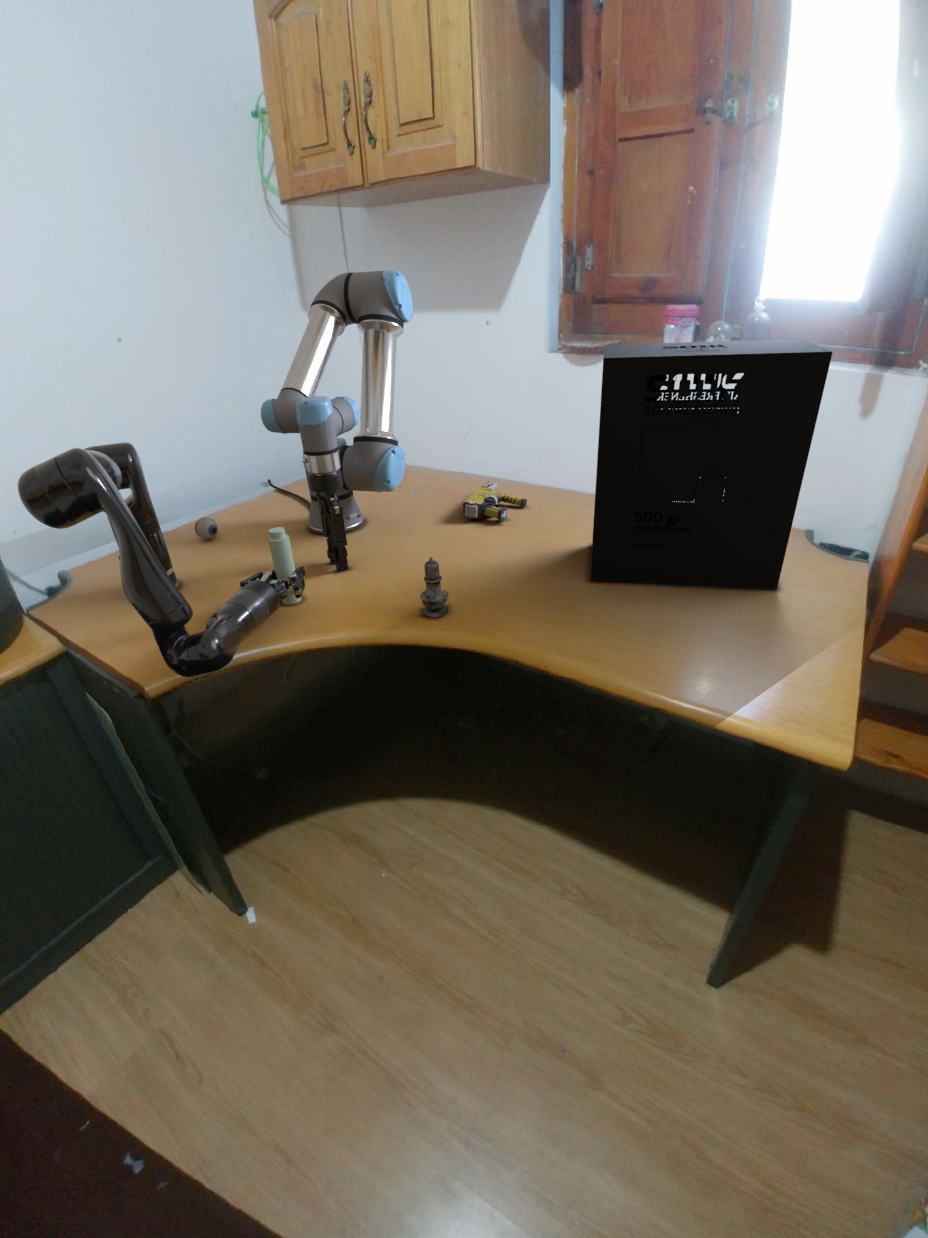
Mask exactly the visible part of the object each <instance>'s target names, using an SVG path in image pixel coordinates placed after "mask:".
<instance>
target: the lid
mask: <svg viewBox="0 0 928 1238" xmlns="http://www.w3.org/2000/svg"><path fill="white" fill-rule="evenodd" d="M345 549H346V556H347V557H348V550H347V547H346V546H345ZM326 556H327V558H328V560H329V561H330V560H335V558H334V552H333V548H331V547H330V548H329V549H328V548H327V549H326Z"/></svg>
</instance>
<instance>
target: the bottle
mask: <svg viewBox="0 0 928 1238" xmlns="http://www.w3.org/2000/svg"><path fill="white" fill-rule="evenodd" d="M268 535H269V536H268V537H267V543H268V547H269V551H270V555H271V560H272V564H273V569H275V573H276V577H277V579H279V578H280V577H282V576H284V575H285V576H288V575H290V574H292V572H294V571H295V570H296V569H297V568H296V565H295V561H294V555H293V551H292V546H291V542H290V536H289V534H288V533H286V529H285V528H284V527H283V526H276V527H272V528H270V529H269V530H268ZM291 583H292V579H291ZM301 601H302V597H300V598H296V597H295V595H288V596H287V597H286V598H285V599H282V600H281V602H282V604H283V605H287V606H290V605H296V604H298V603H300V602H301Z"/></svg>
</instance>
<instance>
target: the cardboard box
mask: <svg viewBox="0 0 928 1238" xmlns="http://www.w3.org/2000/svg"><path fill="white" fill-rule="evenodd" d="M833 353H834V352H833V350H830V349H827V348H826V347H825V348H824V347H822V346H821V345H818V344H815V343H813V342H810V341H808V340H805V339H802V338H783V339H782V338H781V339H779V338H777V339H776V338H775V339H749V340H747V339H746V340H723V341H722V340H720V341H719V340H718V341H689V342H687V341H685V342H683V341H682V342H657V343H654V342H653V343H627V344H625V343H624V344H623V343H621V344H604V345H603V359H602V362H603V363H602V375H601V389H600V390H601V392H600V409H599V424H598V425H599V426H598V427H599V428H598V442H597V457H596V458H597V459H596V460H597V461H596V475H595V493H594V496H595V497H594V508H593V509H594V510H593V525H592V527H593V528H592V541H591V557H590V558H591V560H590V575H589V576H590V577H589V580H590V582H603V583H622V584H623V583H625V584H626V583H628V584H645V585H647V584H648V585H669V586H670V585H671V586H693V587H712V588H714V587H715V588H734V589H735V588H737V589H755V590H757V589H758V590H759V589H760V590H778V586H779V582H780V577H781V574H782V570H783V565H784V561H785V556H786V553H787V548H788V543H789V539H790V536H791V531H792V526H793V522H794V519H795V513H796V510H797V505H798V501H799V497H800V493H801V489H802V484H803V480H804V476H805V471H806V467H807V464H808V463H807V462H808V458H809V455H810V450H811V446H812V442H813V437H814V434H815V430H816V425H817V421H818V417H819V411H820V407H821V404H822V400H823V399H822V398H823V394H824V390H825V386H826V381H827V378H828V374H829V369H830V366H831V360H832V356H833ZM738 374H742V376H741V377H740V378H735V376H736V375H738ZM678 375H681V379H680V380H679V384H678V388H675V385H676V379H675V377H676V376H678ZM689 375H693V380H692V381H691V379H688V376H689ZM702 375H704V379H702ZM719 378H720V382H719ZM724 378H725V382H724ZM723 382H724V385H730V384H731V385H734V388H725V387H724V386H723ZM691 383H692V385H695V388H691ZM705 385H710V388H704V386H705ZM662 387H666V389H662Z"/></svg>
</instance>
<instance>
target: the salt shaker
mask: <svg viewBox="0 0 928 1238" xmlns="http://www.w3.org/2000/svg"><path fill="white" fill-rule="evenodd" d="M423 567H424V577H423V581H424V582H425V590H424V591H422V592H421V593H420V594H419V599H420V600H421V603H422V605H423V606H424V608H422V614H423V615H424V616H426V617H429V618H438V617H442V616H444V615H446V614H448V612H449V607H448V606H447V605H446V603H447V602H448V598H449V595H450V594H449V592H448V591H447V590H445V589H443V588H442V582H441V581H442V579H443V577H442V575H441V574H440V564H439V562H438V561H437V560H434V559H433V557H432V556H430V557H429V559H428V561H426V562H425V563H424V566H423Z"/></svg>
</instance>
